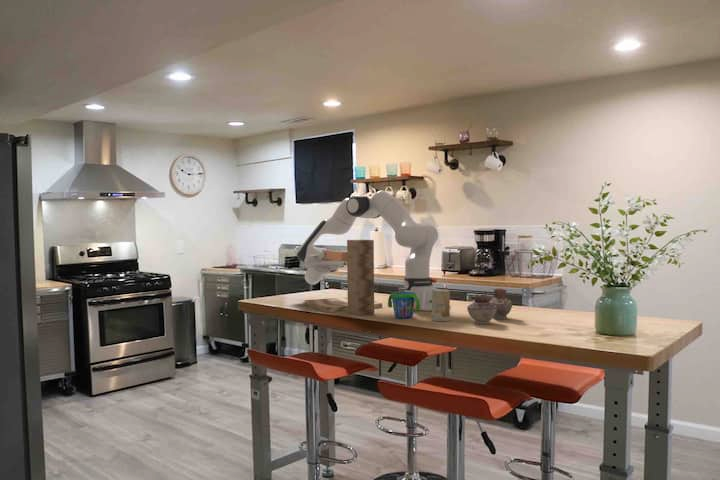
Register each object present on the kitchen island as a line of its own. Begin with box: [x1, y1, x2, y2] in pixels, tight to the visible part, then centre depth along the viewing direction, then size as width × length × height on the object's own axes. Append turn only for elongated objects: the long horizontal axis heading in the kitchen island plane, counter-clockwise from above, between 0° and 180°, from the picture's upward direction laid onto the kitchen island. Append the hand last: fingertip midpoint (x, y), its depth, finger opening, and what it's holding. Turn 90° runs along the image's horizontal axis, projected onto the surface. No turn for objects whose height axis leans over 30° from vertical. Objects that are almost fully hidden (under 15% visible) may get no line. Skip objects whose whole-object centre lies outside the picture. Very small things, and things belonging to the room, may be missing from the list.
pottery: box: [466, 288, 514, 325], centre depth 222 cm, size 11×25×12 cm, turn 138°
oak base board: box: [304, 296, 383, 313], centre depth 266 cm, size 28×28×2 cm
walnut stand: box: [346, 239, 375, 316], centre depth 243 cm, size 8×10×32 cm
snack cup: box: [387, 291, 420, 319], centre depth 232 cm, size 16×10×10 cm
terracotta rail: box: [322, 249, 347, 262], centre depth 262 cm, size 4×22×4 cm, turn 26°
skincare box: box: [431, 289, 451, 322], centre depth 223 cm, size 6×4×12 cm
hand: (329, 253), depth 268 cm, fingers closed on terracotta rail, 4 cm apart
